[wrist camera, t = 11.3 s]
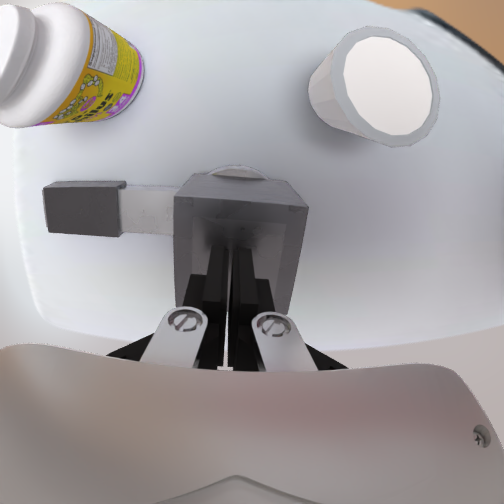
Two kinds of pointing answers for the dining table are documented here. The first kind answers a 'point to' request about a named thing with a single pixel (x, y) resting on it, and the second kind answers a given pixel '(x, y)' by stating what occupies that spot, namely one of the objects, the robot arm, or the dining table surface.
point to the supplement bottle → (63, 67)
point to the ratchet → (117, 205)
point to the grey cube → (239, 229)
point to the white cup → (377, 88)
